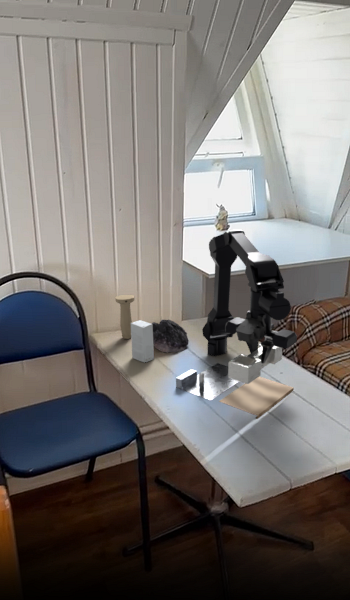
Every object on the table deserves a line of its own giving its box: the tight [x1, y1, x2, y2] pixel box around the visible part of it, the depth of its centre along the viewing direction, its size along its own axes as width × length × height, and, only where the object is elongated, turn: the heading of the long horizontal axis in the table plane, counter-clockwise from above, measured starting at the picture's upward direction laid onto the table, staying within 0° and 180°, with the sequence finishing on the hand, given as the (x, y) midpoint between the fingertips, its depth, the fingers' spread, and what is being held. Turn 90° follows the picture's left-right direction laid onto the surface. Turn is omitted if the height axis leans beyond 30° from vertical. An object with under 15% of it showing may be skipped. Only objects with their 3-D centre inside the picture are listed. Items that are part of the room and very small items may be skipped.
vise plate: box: [175, 362, 240, 402], centre depth 158 cm, size 20×12×6 cm, turn 140°
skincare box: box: [130, 319, 155, 363], centre depth 174 cm, size 6×4×12 cm
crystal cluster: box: [151, 319, 190, 353], centre depth 185 cm, size 13×14×10 cm
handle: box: [114, 294, 135, 340], centre depth 190 cm, size 5×6×15 cm
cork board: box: [218, 376, 295, 420], centre depth 151 cm, size 19×12×1 cm, turn 140°
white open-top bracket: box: [227, 343, 283, 384], centre depth 147 cm, size 18×6×4 cm, turn 140°
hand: (259, 361), depth 148 cm, fingers closed on white open-top bracket, 2 cm apart
